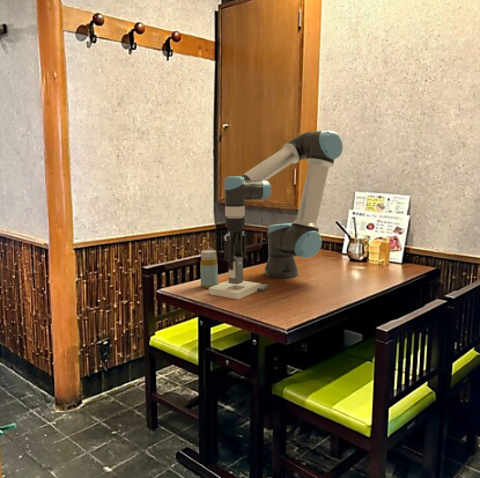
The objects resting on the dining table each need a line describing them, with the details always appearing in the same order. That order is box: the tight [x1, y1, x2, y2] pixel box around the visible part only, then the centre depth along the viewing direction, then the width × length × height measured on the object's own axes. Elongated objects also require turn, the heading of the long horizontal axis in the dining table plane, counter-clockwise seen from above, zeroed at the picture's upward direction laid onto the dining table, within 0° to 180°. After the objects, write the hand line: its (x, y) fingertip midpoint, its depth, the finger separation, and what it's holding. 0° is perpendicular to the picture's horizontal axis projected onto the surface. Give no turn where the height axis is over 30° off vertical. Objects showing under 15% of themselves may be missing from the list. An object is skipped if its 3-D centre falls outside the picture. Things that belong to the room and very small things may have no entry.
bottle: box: [199, 249, 219, 290], centre depth 202 cm, size 7×7×15 cm
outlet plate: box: [208, 279, 262, 300], centre depth 195 cm, size 16×14×3 cm
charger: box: [228, 255, 244, 284], centre depth 191 cm, size 4×4×10 cm
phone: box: [256, 283, 269, 292], centre depth 199 cm, size 7×4×1 cm, turn 161°
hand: (235, 276), depth 192 cm, fingers closed on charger, 4 cm apart
